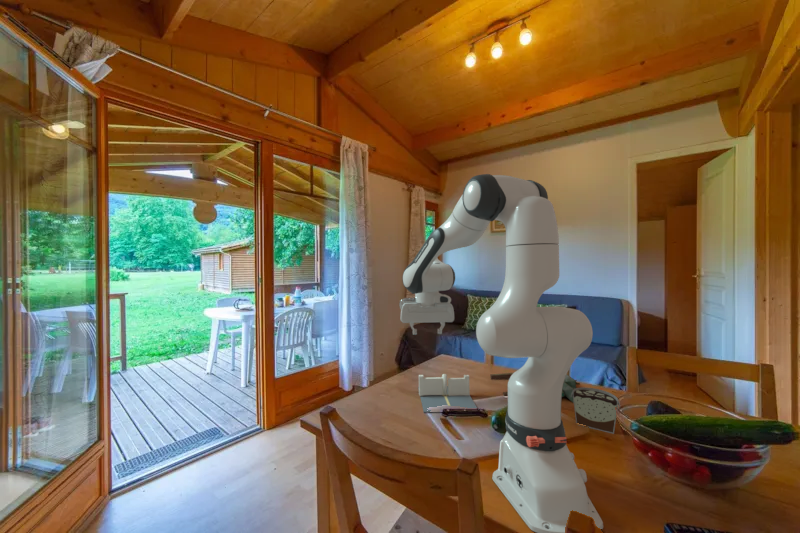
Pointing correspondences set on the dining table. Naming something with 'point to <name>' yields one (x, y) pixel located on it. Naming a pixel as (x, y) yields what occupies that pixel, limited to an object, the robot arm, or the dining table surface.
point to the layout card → (446, 401)
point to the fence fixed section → (458, 386)
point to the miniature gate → (566, 390)
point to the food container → (595, 408)
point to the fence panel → (433, 385)
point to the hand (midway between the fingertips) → (427, 334)
